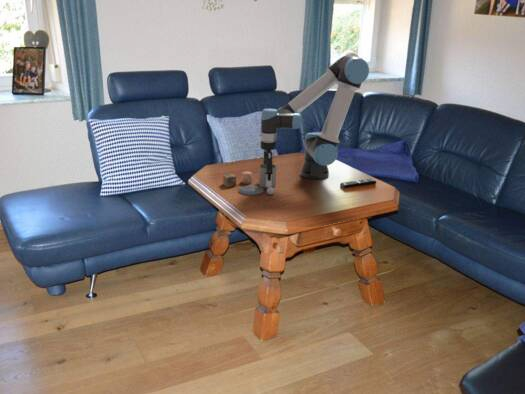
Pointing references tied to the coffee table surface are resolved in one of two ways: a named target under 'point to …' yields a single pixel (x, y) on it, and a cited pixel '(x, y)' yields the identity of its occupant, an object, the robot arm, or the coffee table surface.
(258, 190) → the coaster
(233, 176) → the walnut block
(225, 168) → the coffee table surface
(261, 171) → the cup
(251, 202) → the coffee table surface
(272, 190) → the grey ball
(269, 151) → the robot arm
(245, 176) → the peach capsule shape
